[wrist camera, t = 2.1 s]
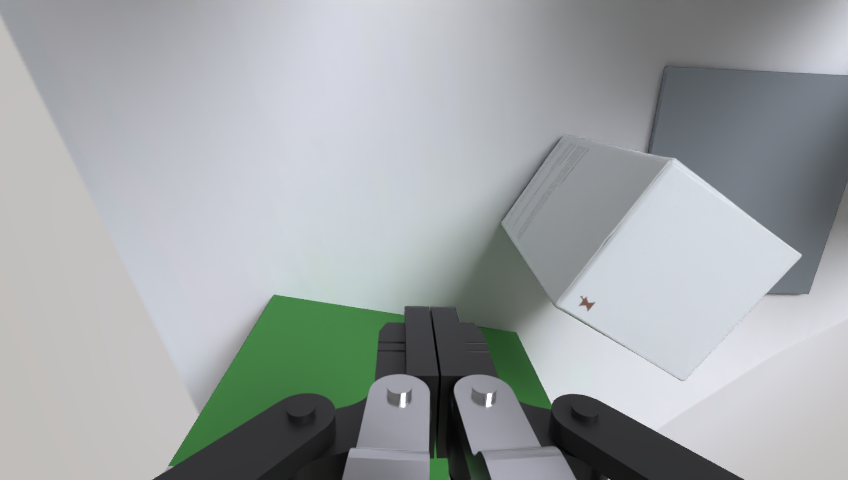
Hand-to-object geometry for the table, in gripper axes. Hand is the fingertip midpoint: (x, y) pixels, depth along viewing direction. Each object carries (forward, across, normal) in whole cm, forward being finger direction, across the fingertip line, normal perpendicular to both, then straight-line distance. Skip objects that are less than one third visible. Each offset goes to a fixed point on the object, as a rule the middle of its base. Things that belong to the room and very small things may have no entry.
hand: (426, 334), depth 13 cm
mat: (+17, -22, -2) cm, 28 cm away
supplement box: (+17, -11, 0) cm, 20 cm away
